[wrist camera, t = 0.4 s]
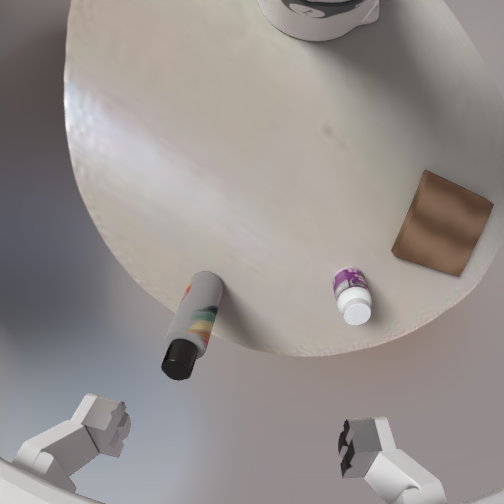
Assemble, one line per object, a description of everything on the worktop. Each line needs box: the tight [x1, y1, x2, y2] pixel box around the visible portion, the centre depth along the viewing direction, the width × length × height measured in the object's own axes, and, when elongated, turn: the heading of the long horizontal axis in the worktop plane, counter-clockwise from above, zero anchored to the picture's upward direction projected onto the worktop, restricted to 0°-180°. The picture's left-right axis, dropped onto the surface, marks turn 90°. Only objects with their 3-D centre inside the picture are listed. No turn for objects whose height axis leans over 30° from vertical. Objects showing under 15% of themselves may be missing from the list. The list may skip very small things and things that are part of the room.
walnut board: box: [391, 170, 494, 277], centre depth 45 cm, size 14×14×2 cm
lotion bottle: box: [161, 272, 223, 380], centre depth 46 cm, size 6×6×20 cm
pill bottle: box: [333, 266, 372, 325], centre depth 47 cm, size 5×5×10 cm
